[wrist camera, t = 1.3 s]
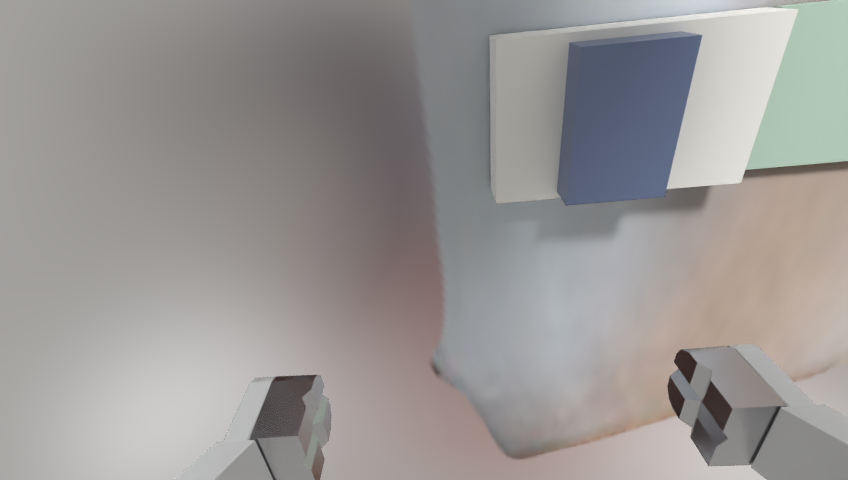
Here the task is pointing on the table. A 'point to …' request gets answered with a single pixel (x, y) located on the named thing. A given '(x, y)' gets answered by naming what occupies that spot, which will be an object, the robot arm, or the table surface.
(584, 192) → the tile
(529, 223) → the table surface
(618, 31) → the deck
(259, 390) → the robot arm
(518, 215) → the table surface
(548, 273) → the table surface
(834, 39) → the mat
